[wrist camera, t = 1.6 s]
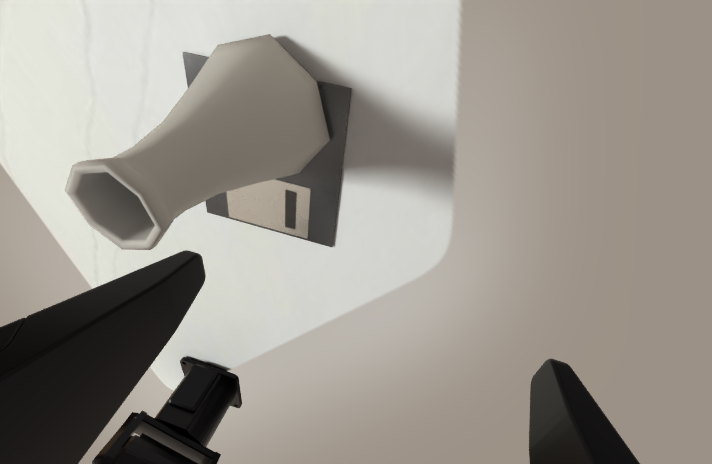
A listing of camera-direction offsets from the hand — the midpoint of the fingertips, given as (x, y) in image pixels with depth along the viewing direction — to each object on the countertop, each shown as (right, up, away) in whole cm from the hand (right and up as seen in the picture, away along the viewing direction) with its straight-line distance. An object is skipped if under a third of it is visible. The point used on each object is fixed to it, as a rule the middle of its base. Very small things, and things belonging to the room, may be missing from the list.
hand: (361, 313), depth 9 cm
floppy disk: (-5, +6, +12) cm, 14 cm away
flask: (-5, +8, +10) cm, 14 cm away
